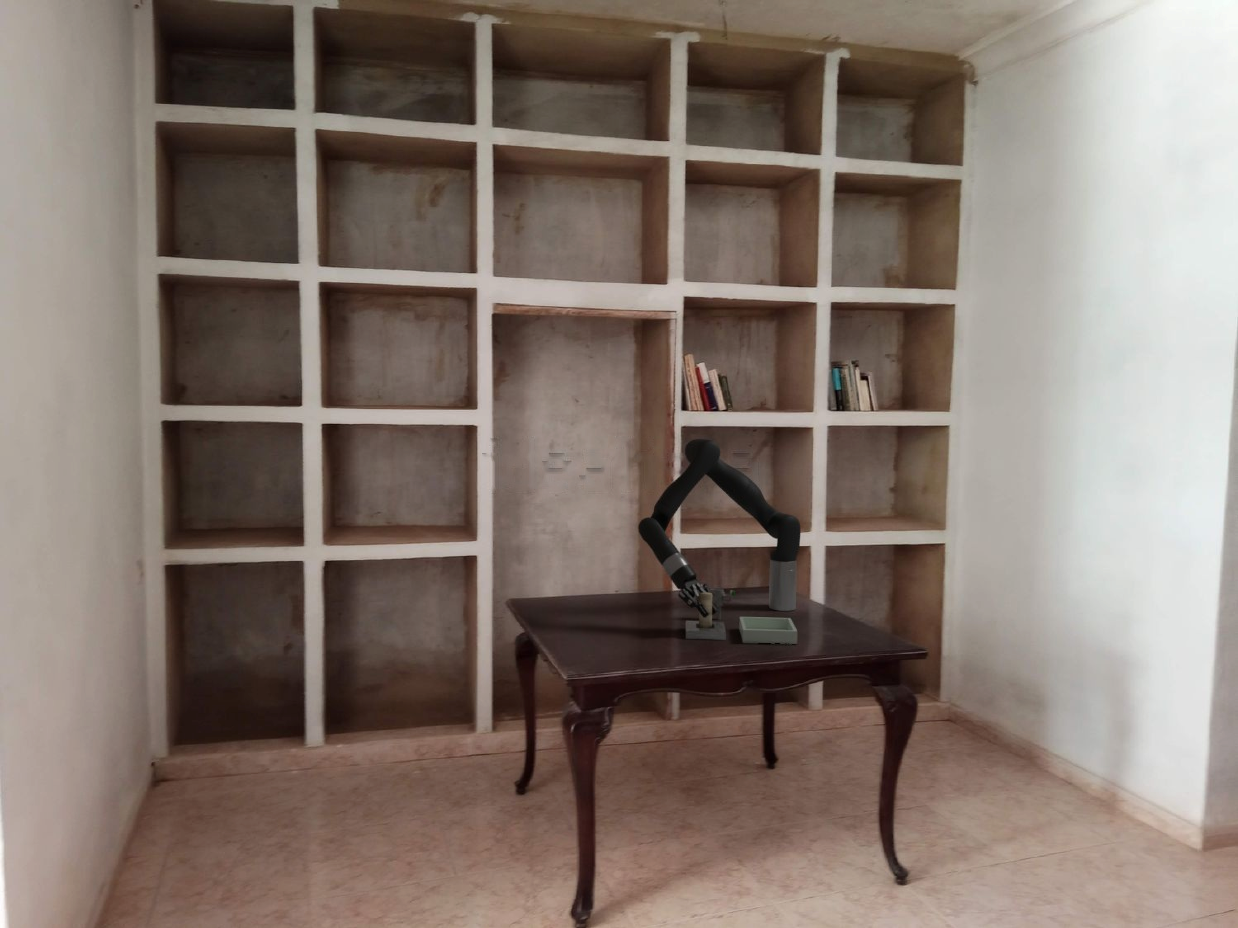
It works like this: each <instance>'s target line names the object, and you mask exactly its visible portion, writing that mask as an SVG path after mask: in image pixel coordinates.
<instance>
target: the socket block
mask: <svg viewBox="0 0 1238 928" xmlns="http://www.w3.org/2000/svg"><path fill="white" fill-rule="evenodd" d="M726 632H727V631H726V626H725V622H724V621H715V620H714V621H713V620H712V629H709V628H699V620H685V639H688V640H689V639H690V640H714V641H715V640H718V641H719V640H720V641H723V640H724V641H726V637H727V636H726V634H727V633H726Z"/></svg>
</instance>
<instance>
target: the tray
mask: <svg viewBox="0 0 1238 928" xmlns="http://www.w3.org/2000/svg"><path fill="white" fill-rule="evenodd" d="M738 624H739V625H738V626H739V627H738V630H739V633H740V638H741V641H742V644H758V643H771V644H770V645H776V644H775V643H780V644H779V645H792V644H797V645H798V629H797V628H796V625H795V624H794V622H793V620H792V619H791V617H770V616H769V617H761V616H760V617H758V616H739V623H738ZM785 643H787V644H785ZM788 643H789V644H788Z"/></svg>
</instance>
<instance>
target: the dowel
mask: <svg viewBox="0 0 1238 928" xmlns="http://www.w3.org/2000/svg"><path fill="white" fill-rule="evenodd" d="M712 595H713V592H711V593H706V592H704V593H699V596H700V597H699V599H700V601H701V603H702V604H703V605H704V607H705V608H706V609H707V611H708V612H709V615H708V616H707V617H705V618H704V617H703V616H702V615H701V613H700V612H699V611H698V612H699V613H698V621H699V628H709V629H712V621H713V615H712V603H713V601H712Z"/></svg>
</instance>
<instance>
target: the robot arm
mask: <svg viewBox="0 0 1238 928" xmlns="http://www.w3.org/2000/svg"><path fill="white" fill-rule="evenodd" d="M684 455H685V459H686V460H687V461H688V463H689V465H688V466H687V467H686V469H685V470H684V471H683V472H682V473H681V474H680V475H679V476H678V477H677V478H676V479H675V480H674V481H673V482H672V483H671V484H669V485H668V486H667V487H666V488H665V490H663V493H662V494H661V495H660V496H659V498H658V500H657V501H656V502H655V505H654V507H653V512H652V514H651V516H650V517H645V518H642V519H641V520H640V521H639V524H638V527H637V529H638V533H639V535H640V537H641V539H642V540H643V541H644V542H645V543H646V544H647V545H648V546H649V547H650V549H651V551H652V552H653V554H654V556H655V558H656V559H657V560H658V562H659V563H660V565H661V566H662V568H663V570H664V572H665V573H666V575H667V576H668V578H670V580H671V582H672V584H673V585H675V588H677V589H678V590H681V591H680V592H679V593H678V594H677V595H678V597H679V598H680V599H681V600H682V601H683V602H685V604H687V606H688V607H689V608H691V609H693V608H695V610H696V609H697V611H698V612H700V613H701V615H702V616H703V617H704V618H705V617H707V616H708V615H709V612H708V611H707V609H706V608H705V607H704V605H703V604H702V603H701V601H700V599H699V597H700V596H699V593H704V592H706V593H712V592H711V591H710V589H709V588H710V587H709V585H708V583H706V582H705V583H704V584H702V583H701V582H699V580H698V579H697V577H698V575H697V573H696V572H695V569H694V568H692V566H691V564H689V561H687V559H686V558H685V556H683V554H682V553H681V552H680V551H679V549H678V548H677V547H676V546H675V544H674V543H673V542H672V541H671V539H670V538H669V537H668V535H667V534H666V531H667V528H668V527H669V525H670V522H671V520H672V518H673V517H674V516H675V515H676V513H677V512H678V510H679V508H680V507H681V506H682V504H683V502H684V501H685V500H686V498H687V497H688V496H689V494H690V493H691V492H692V490H693V489H694V488H695V487H696V486H697V484H698V483H699V482H700V481H701V480H702V478H704V477H705V476H707V477H709V479H710V480H712V481H713V482H714V483H715V484H716V485H717V486H718V487H719V489H721V490H722V491H723V492H724V493H725V494H726V495H727V496H728V497H729V498H730V499H731V500H732V501H734V502H735V504H737V506H739V507H740V508H742V510H744V511H745V512H746V513H748V515H750V516H751V517H752V518H754V519H755V520H756V521H757V523H759V525H760V526H761V527H762V528H763V529H764V530H765V532H766V533H767V534H768V535H769V536H770V537H772V538H773V539H776V548H774V549H772V550H771V551H770V552H769V582H768V583H769V586H768V587H769V589H768V593H769V594H768V608H769V609H770V610H774V611H775V610H776V611H779V612H780V611H782V612H788V611H794V610H796V602H797V559H798V554H799V552H800V547H801V545H800V544H801V532H802V531H801V530H802V529H801V522H800V520H799V519H798V518H797V517H796V516H795V515H791V514H788V513H787V514H786V513H783V512H780V511H778V510H777V509H776V508H774V507H773V506H772V505H770V504H769V503H768V501H766V499H765V497H764V495H763V492H762V490H761V489H760V487H759V486H758V485H757V484H756V483H755V482H754V481H753V480H752V479H751V478H750V477H749V476H747V475H746V474H744V473H743V472H741V471H740V470H738V469H736V468H735V467H733V466H732V465H729V464H728V463H726V462H724V461H723V460H722V459H721V458H720V456H721V448H720V446H719V444H718V443H717V442H716V441H714V440H713V439H706V438H705V439H704V438H695V439H692V440H690V441H688V442H687V444H685V447H684ZM713 596H714V594H712V599H713ZM716 608H717V607H716V606H715V604H713V602H712V616H714V615H715V614H716V613H717V609H716Z"/></svg>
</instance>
